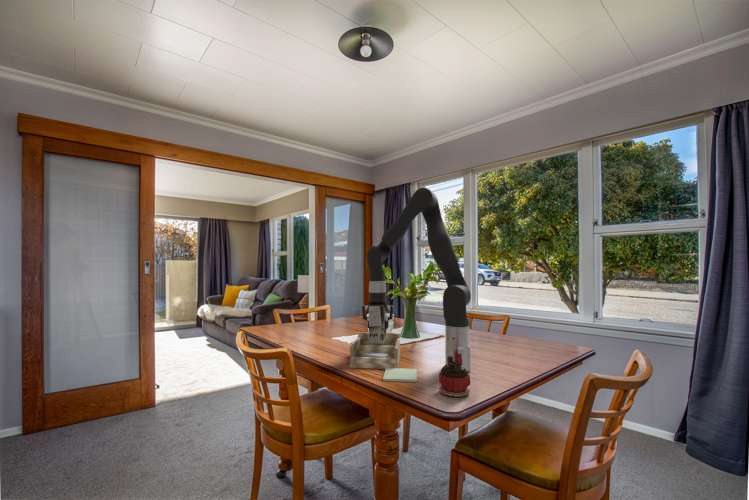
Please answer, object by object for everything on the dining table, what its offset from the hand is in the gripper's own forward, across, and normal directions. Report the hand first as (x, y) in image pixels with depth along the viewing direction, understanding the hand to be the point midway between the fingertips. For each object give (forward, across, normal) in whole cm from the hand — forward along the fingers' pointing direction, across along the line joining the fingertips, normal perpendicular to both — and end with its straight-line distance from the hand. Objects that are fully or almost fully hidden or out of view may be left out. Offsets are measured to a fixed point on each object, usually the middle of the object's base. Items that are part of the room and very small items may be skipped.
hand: (377, 329), depth 157 cm
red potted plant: (+14, -29, +38) cm, 49 cm away
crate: (+13, 0, +4) cm, 13 cm away
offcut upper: (+11, 0, +10) cm, 15 cm away
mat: (+13, -11, +22) cm, 28 cm away
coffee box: (+6, 0, 0) cm, 6 cm away
